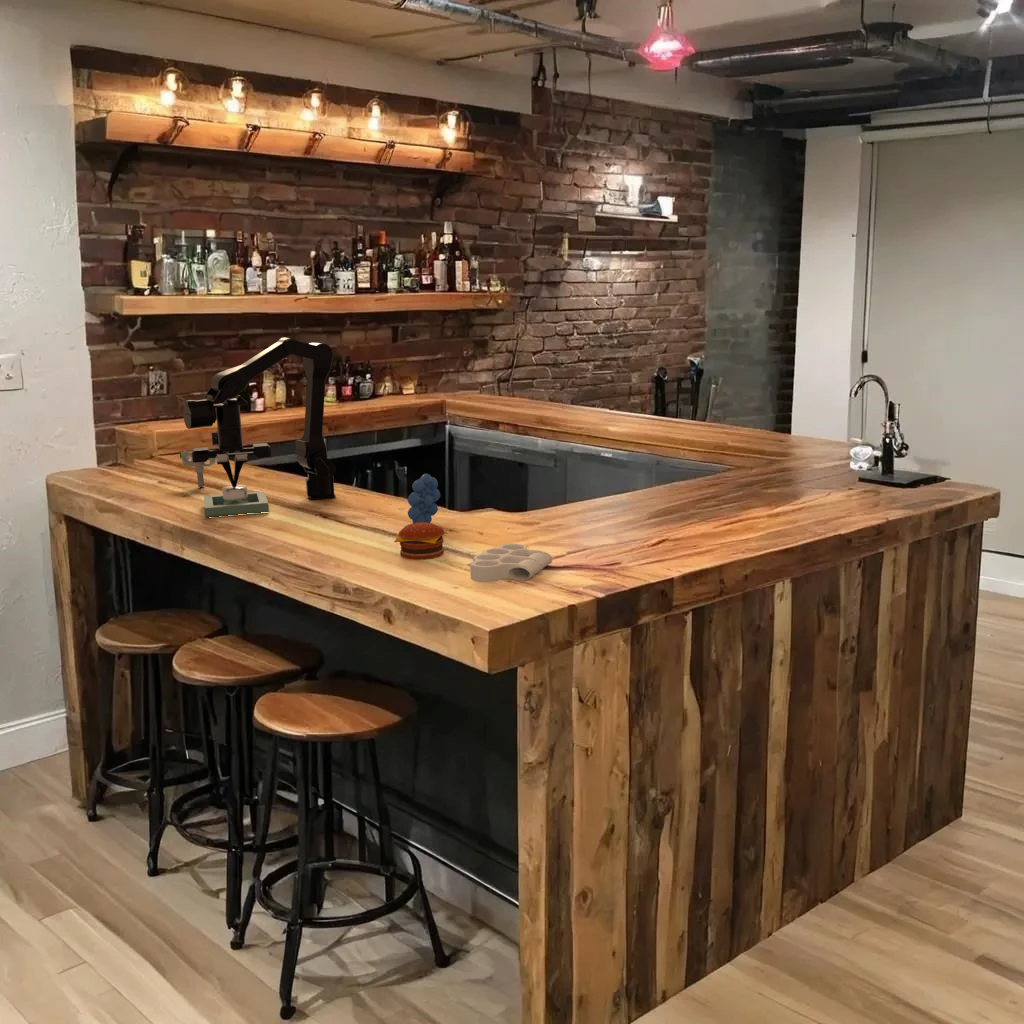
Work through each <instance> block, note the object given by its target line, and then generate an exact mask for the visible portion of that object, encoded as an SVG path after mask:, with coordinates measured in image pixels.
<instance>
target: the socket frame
mask: <svg viewBox="0 0 1024 1024" xmlns="http://www.w3.org/2000/svg"><path fill="white" fill-rule="evenodd" d="M247 493H248V503H240V504H228V505H224V504H223V494H215V495H204V496H203V502H204V503H203V504H204V512H205V513H204V515H205V519H206V518H208V519H210V518H209V517H219V516H228V515H238V514H247V513H261V512H269V513H270V509H269V507H270V506H269V501H268V499H267V496H266V493H265V491H264V490H262V491H251V492H247ZM219 518H220V517H219Z"/></svg>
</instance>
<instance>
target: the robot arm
mask: <svg viewBox="0 0 1024 1024" xmlns="http://www.w3.org/2000/svg"><path fill="white" fill-rule="evenodd" d="M289 356H293V357H297V358H300V359H302V364H303V369H304V372H305V375H306V392H305V394H306V395H305V412H304V430H303V435H302V437H301V439H295V452H294V454H293V455H294V456H295V457H296V461H297V462H298V464H299V465H300V466H301V467H303V469H304V472H305V473H307V478H306V479H305V488H306V489H305V490H306V496H307V497H310V498H309V499H310V500H321V499H320V498H323V499H333V498H336V494H335V485H334V484H335V483H334V475H336V473H337V465H336V464H335V463H334V462H332V461H331V460H330V459H329V458H328V449H327V445H326V442H325V438H324V435H323V431H324V414H325V413H324V411H325V399H326V398H325V393H326V380H327V377H328V375H329V373H330V371H331V369H332V364H333V361H334V351H333V349H332V348H331V347H330V346H329V345H328V344H326V343H320V342H309V343H306V342H303V341H299V340H295V339H293V338H292V337H291V338H290V337H281V338H279V339H278V341H277V342H275V343H273V344H272V345H270V346H269V347H268V348H266V349H264V350H263V351H260V352H259V353H257V354H256V355H254V356H253V357H251V358H250V359H248V360H247V361H245V362H243V363H241V365H240V364H239V365H237V366H234V367H232V368H227V369H226V370H223V371H220V372H218V373H215V374H214V375H213V376H212V377H211V382H210V387H209V388H208V390H207V392H206V393H205V395H204V397H203V399H199V400H198V399H197V400H194V399H193V400H192V399H188V400H185V406H184V408H183V415H182V417H183V421H184V425H185V427H186V428H187V429H188V430H191V429H199V428H200V429H201V428H210V427H213V425H214V424H216V425H217V426H216V428H217V429H216V430H217V431H216V432H213V431H212V432H211V441H212V447H218V449H214V450H212V449H211V450H210V449H209V447H208V446H206V447H204V446H203V447H194V448H193V449H192V450H191V451H192V459H193V463H197V462H205V463H207V461H209V460H208V459H209V458H215V459H216V464H217V465H221V466H222V468H223V470H224V471H225V473H226V475H227V477H228V480H229V482H230V484H231V486H232V487H236V485H238V481H239V476H240V473H241V471H242V469H243V465H244V464H245V463H248V461H249V460H248V456H253V455H254V456H256V458H258V459H262V458H263V459H265V458H271V457H272V451H271V446H270V444H268V443H267V442H263V443H253V444H252V447H244V444H243V443H244V442H243V431H242V420H241V419H242V418H241V407H242V406H247V405H249V402H248V401H247V400H245V399H244V398H243V397H242V396H241V395H239V394H240V393H241V392H243V390H245V389H246V388H247V386H248V385H249V384H250V382H251V381H252V380H253V379H255V378H256V377H258V376H259V375H261V374H262V373H264V372H265V371H267V370H268V369H270V368H272V367H273V366H274V365H277V364H278V363H280V362H281V361H282V360H284V359H286V358H287V357H289ZM229 457H234V468H233V472H232V467H231V463H230V458H229ZM233 473H234V474H233Z"/></svg>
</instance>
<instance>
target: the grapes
mask: <svg viewBox="0 0 1024 1024" xmlns="http://www.w3.org/2000/svg"><path fill="white" fill-rule="evenodd" d="M438 485H439V483H438V480H437V479H436V477H434V476H431V475H430V473H424V474H423V475H421V476H420V478H418V479H416V480H415V481H414V482H413V483H412V486H411V487H412V490H413V492H411V493H410V494H409V495H408V497H407V502H408V504H409V506H411V507H410V508H409V509H408V511H407V517H408V518H409V519H410V520H412V521H411V522H412V524H413V523H420V522H426V523H432V521H433V520H432V519H433V518H432V516H435V515H436V514H437V512H438V511H439V508H438V505H437V504H436V502H437V501H438V500H439V499H440V498H441V492H440V490H439V489H438Z"/></svg>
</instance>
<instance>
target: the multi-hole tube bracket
mask: <svg viewBox="0 0 1024 1024" xmlns="http://www.w3.org/2000/svg"><path fill="white" fill-rule="evenodd" d="M552 563H553V556H552V555H551V554H550V553H548V552H547V551H542V550H539V549H529V548H527V546H526V545H525V544H521V543H503V544H500V545H498V547H493V548H488V549H485V550H484V549H483V550H482V551H481V553H478V554H475V555H474V556H473V561H471V562H469V563H467V564H466V566H468V567H470V569H469V570H470V579H471V580H472V581H475V582H478V583H493V582H498V581H502V580H516V581H527V580H528V579H530V578H532V577H533V576H534V575H536V574H538V572H540V571H542V570H543V569H544V568H546V567H547V566H548V565H551V564H552Z"/></svg>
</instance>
